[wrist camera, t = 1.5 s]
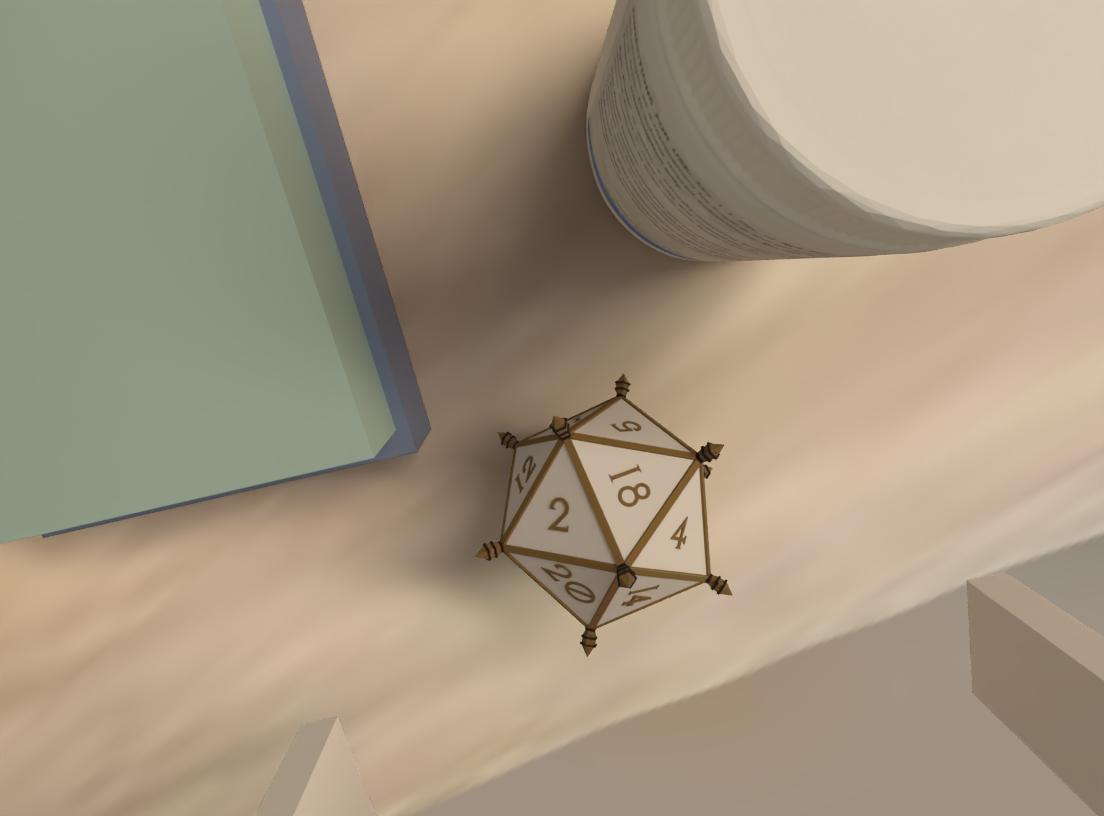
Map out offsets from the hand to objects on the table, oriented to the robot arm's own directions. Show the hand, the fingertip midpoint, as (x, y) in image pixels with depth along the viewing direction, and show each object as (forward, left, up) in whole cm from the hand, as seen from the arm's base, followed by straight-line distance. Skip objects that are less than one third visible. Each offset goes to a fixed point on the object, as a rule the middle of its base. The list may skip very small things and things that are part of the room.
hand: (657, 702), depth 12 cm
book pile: (-14, -14, -14) cm, 24 cm away
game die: (0, 0, -14) cm, 14 cm away
